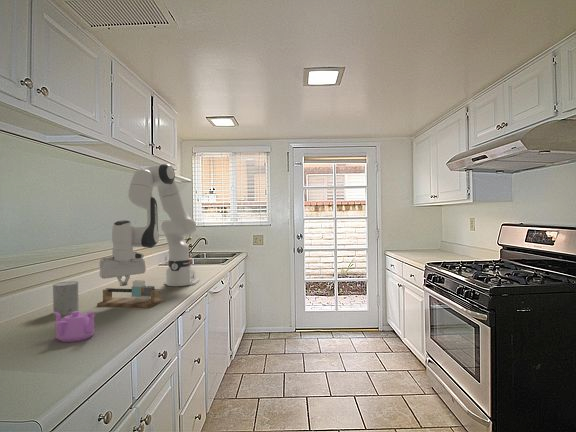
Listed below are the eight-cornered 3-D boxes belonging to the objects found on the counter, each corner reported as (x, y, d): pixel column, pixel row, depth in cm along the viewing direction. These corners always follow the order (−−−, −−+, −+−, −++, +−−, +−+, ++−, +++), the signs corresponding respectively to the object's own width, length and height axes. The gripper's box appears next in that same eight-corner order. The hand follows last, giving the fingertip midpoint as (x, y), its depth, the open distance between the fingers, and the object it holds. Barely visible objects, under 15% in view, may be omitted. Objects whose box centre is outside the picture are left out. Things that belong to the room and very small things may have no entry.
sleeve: (131, 296, 181) (131, 281, 181) (137, 294, 185) (136, 279, 185) (140, 296, 180) (140, 281, 180) (146, 294, 184) (145, 280, 184)
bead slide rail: (103, 294, 183) (103, 286, 183) (109, 293, 187) (108, 285, 187) (153, 296, 179) (153, 287, 179) (158, 294, 183) (157, 286, 183)
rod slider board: (97, 305, 180) (97, 291, 180) (113, 299, 191) (113, 286, 191) (150, 307, 175) (150, 292, 175) (163, 301, 187) (163, 287, 187)
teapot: (96, 340, 132) (96, 313, 131) (48, 346, 126) (47, 318, 126) (98, 330, 142) (97, 305, 142) (53, 335, 137) (53, 310, 137)
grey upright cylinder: (51, 316, 163) (50, 286, 162) (55, 310, 172) (54, 282, 171) (77, 313, 166) (76, 284, 166) (80, 308, 175) (79, 280, 175)
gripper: (102, 258, 174) (102, 290, 174) (146, 254, 189) (147, 283, 189) (96, 257, 178) (97, 288, 179) (140, 253, 193) (141, 281, 193)
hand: (123, 285), depth 184 cm, fingers closed
